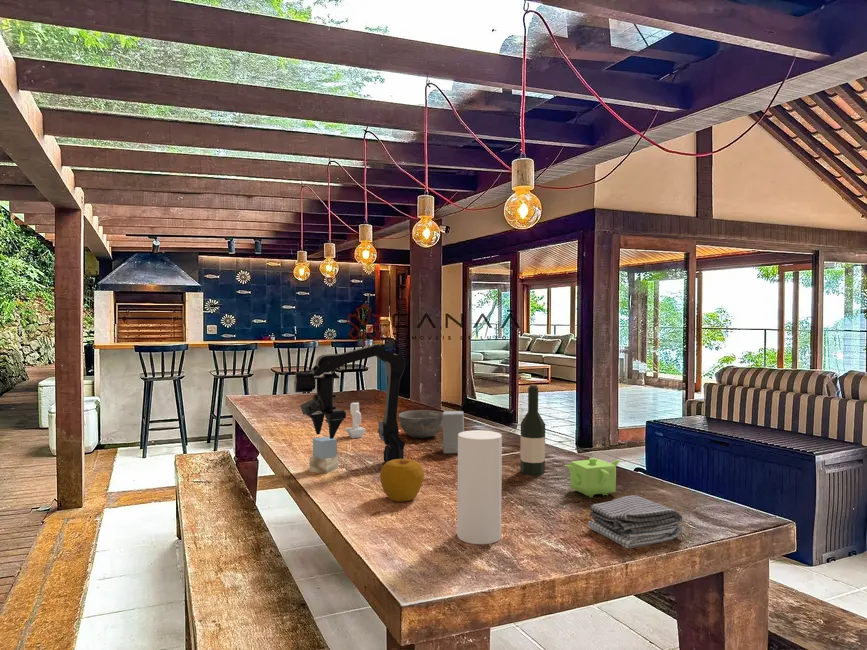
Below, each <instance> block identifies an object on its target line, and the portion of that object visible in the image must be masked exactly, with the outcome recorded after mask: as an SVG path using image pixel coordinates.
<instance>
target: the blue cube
mask: <svg viewBox="0 0 867 650" xmlns="http://www.w3.org/2000/svg"><path fill="white" fill-rule="evenodd" d="M337 455H338V439H337V438H335V437H334V438H333V439H330V436H321V437H315V438H314V437H313V438H312V456H315V457H317V458H320V459H326V458H331V457H337Z"/></svg>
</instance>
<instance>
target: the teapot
mask: <svg viewBox="0 0 867 650" xmlns="http://www.w3.org/2000/svg"><path fill="white" fill-rule="evenodd" d="M620 462H621V460H620V459H615V460H613V461H612V462H611V463H610V462H608V461H605V460H602V459H600V458H596V457H588V459H584V460H575V461H574V460H572V461H570V462H569V464H564V467H566V468H567V469H568V471H569V487H570V488H571V489H573V490H574V491H578V493H581V494H583V495H585V496H586V497H587V496H589V497H588V498H594V497H595V495H601V494H602V495H601V496H604V495H607V496H609V493H610V494H611V493H616V492H617V486H616V484H617V465H618V463H620ZM593 496H594V497H593Z"/></svg>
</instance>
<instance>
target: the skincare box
mask: <svg viewBox="0 0 867 650" xmlns="http://www.w3.org/2000/svg"><path fill="white" fill-rule="evenodd" d="M442 413H443V414H442V420H443V427H442V445H443V446H442V447H443V448H442V449H443V454H458V434H459V433H461V432H464V431H465V416H464V415H465V414H464V411H463V410H457V411H456V410H455V411H450V410H449V411H447V410H446V411H443V412H442Z"/></svg>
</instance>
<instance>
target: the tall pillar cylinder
mask: <svg viewBox="0 0 867 650" xmlns="http://www.w3.org/2000/svg"><path fill="white" fill-rule="evenodd" d="M502 440H503V435H502V433H500V432H497V431H492V430H478V429H477V430H466V431H465V430H464V432H461V433H459V434H458V453H457V508H456V509H457V512H456V513H457V514H456V515H457V518H456V520H457V523H456V525H457V527H456V528H457V529H456V530H457V533H456V535H457V538H458V539H459V540H460V541H463V542H464V543H467V544H472V545H489V544H495V543H496V542H498V541H500V539H501V538H502V470H503V469H502V468H503V467H502V460H503V459H502V458H503V457H502V455H503V453H502V452H503V451H502V450H503V449H502V448H503V447H502V446H503V445H502V444H503V443H502V442H503V441H502Z"/></svg>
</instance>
